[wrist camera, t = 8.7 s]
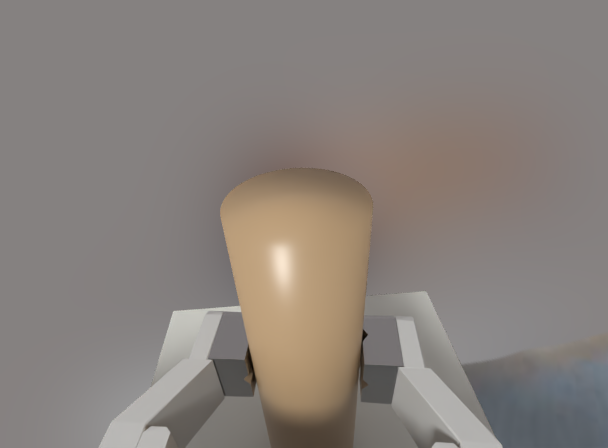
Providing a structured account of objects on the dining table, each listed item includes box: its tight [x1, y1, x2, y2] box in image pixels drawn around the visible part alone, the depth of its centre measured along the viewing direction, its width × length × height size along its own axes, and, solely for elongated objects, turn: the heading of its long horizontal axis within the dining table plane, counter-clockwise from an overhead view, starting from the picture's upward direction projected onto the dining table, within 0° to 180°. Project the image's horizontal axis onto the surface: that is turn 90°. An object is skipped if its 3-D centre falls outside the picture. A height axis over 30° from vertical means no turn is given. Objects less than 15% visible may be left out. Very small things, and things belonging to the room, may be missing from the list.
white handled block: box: [150, 168, 496, 448], centre depth 13 cm, size 13×13×21 cm
